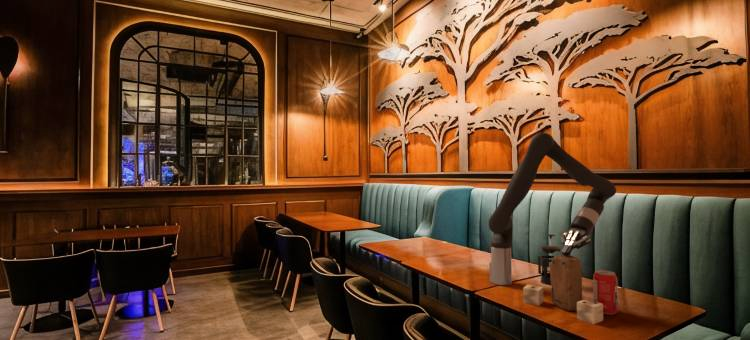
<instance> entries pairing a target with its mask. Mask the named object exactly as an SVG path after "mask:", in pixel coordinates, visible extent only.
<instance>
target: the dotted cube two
mask: <svg viewBox="0 0 750 340" xmlns="http://www.w3.org/2000/svg"><path fill="white" fill-rule="evenodd" d="M576 319H577V320H580V321H582V322H583V321H584V322H586V323H589V324H592V325H595V324H598V323H600V322H602V321H604V314H603V304H602V303H598V302H595V301H593V300H590V299H587V298H584V299H582V300H581V301H578V302H577V310H576Z"/></svg>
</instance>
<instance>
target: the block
mask: <svg viewBox="0 0 750 340" xmlns="http://www.w3.org/2000/svg"><path fill="white" fill-rule="evenodd" d="M554 256H555V257H554V258H553V259H552V258H551V260H552V261H551V262H550V265H549V267H550V272H549V273H550V279H551V285H550V286H551V287H550V288H551V289H550V290H551V291H550V294H551V302H552V304H554V305H555V306H556V307H558V308H560V309H561V310H565V311H568V312H570V311H572V312H575V311H576V312H577V302H578V301H581V300H583V274H582V263H581V259H580V258H579V257H576V256H573V255H571V254H570V255H568V256H564V255H563V254H558V255H554Z"/></svg>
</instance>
